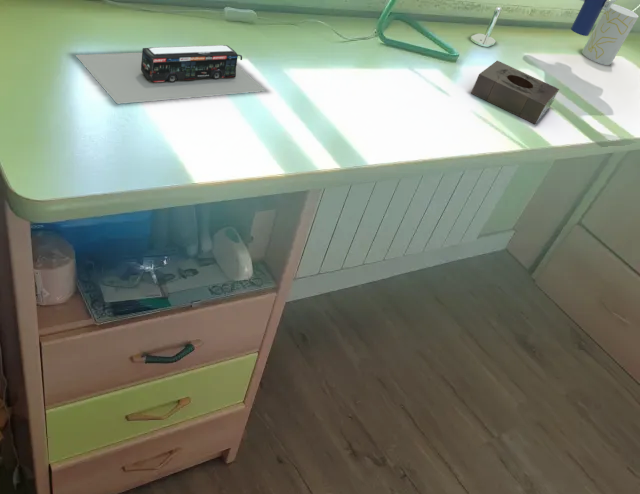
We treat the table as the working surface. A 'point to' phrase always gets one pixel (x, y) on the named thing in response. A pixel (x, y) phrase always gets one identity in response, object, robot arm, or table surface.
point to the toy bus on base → (170, 73)
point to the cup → (609, 34)
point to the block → (515, 91)
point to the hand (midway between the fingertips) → (593, 5)
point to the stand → (487, 32)
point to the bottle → (587, 16)
